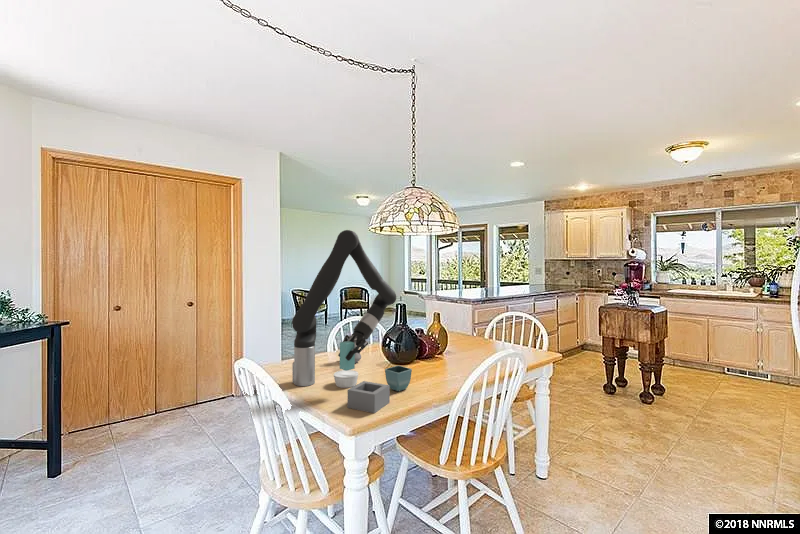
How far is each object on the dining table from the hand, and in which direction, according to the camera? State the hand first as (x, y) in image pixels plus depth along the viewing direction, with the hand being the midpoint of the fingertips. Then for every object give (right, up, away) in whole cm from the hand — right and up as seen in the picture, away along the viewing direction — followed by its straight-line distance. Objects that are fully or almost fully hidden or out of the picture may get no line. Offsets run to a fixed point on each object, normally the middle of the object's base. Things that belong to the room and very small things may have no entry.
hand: (343, 358), depth 163 cm
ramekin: (-1, -16, +15) cm, 22 cm away
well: (+11, -16, -10) cm, 22 cm away
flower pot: (+23, -16, +9) cm, 29 cm away
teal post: (+1, -5, +1) cm, 5 cm away
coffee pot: (-1, -15, +49) cm, 52 cm away
